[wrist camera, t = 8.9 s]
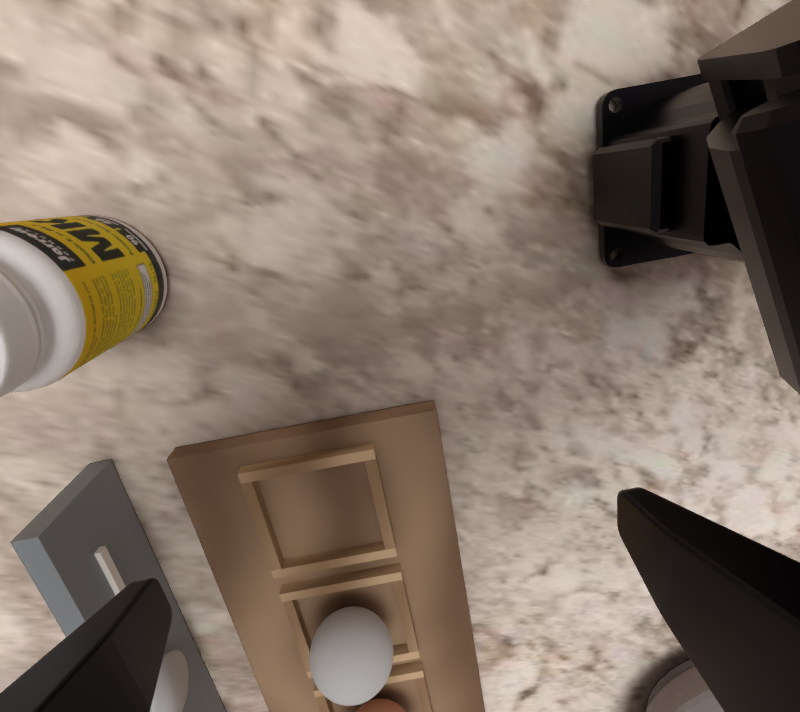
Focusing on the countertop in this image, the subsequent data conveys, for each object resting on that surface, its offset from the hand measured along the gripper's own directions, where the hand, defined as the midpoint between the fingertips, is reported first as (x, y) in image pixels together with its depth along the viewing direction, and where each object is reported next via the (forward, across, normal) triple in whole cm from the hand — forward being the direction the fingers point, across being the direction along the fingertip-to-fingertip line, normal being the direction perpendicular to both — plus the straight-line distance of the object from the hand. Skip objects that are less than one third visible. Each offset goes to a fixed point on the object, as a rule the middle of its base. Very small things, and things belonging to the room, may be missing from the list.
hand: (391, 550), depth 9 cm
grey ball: (+11, +4, +14) cm, 18 cm away
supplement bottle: (+12, +10, -5) cm, 17 cm away
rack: (+12, +4, +14) cm, 19 cm away
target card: (+12, +14, +14) cm, 23 cm away
